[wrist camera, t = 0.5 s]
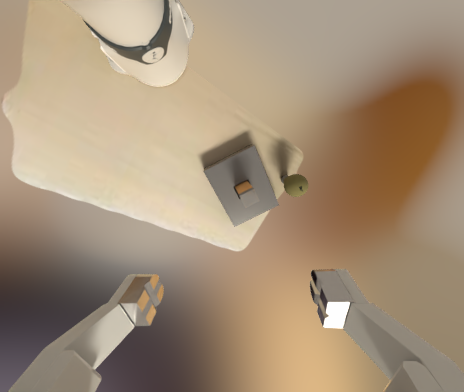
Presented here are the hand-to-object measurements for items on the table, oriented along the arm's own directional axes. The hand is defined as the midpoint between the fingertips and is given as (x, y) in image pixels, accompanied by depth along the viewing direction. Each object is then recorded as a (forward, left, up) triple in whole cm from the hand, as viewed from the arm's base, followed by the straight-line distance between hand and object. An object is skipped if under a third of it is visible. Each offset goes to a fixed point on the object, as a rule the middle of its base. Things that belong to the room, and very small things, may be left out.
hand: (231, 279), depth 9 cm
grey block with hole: (+9, +4, -38) cm, 40 cm away
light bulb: (+13, +16, -39) cm, 44 cm away
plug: (+9, +4, -38) cm, 39 cm away
